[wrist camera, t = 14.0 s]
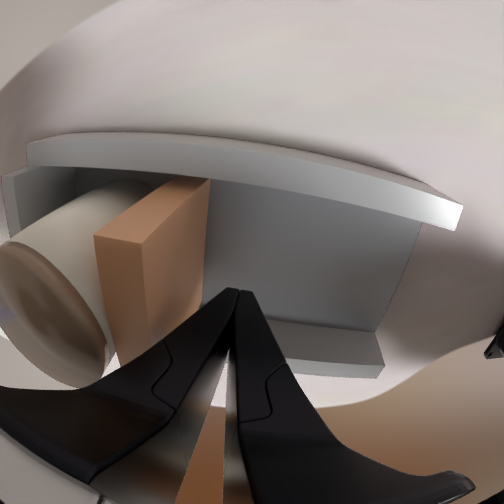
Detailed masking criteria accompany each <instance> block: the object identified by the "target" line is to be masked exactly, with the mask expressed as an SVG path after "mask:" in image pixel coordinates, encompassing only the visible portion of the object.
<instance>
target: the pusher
mask: <svg viewBox="0 0 504 504" xmlns="http://www.w3.org/2000/svg"><path fill="white" fill-rule="evenodd" d="M210 182H211V179H210V178H202V177H195V176H186V175H178V176H176V177H175V178H173V179H172V180H170V181H168V182H167V183H165V184H164V185H162V186H161V187H159V188H158V189H156V190H155V191H153V192H152V193H150V194H149V195H147V196H146V197H144V198H143V199H141V200H140V201H138V202H137V203H135V204H134V205H133V206H131V207H130V208H128V209H127V210H125V211H124V212H123V213H121V214H120V215H118V216H117V217H116V218H114V219H113V220H112V221H110V222H109V223H108V224H106V225H105V226H104V227H102V228H101V229H100V230H98V231H97V232H96V233H94V234H93V238H94V246H95V254H96V261H97V267H98V273H99V279H100V285H101V290H102V295H103V300H104V305H105V309H106V314H107V318H108V322H109V326H110V330H111V334H112V338H113V342H114V345H115V349H116V353H117V356H118V359H119V363H120V366H121V367H122V366H124V365H125V364H127V363H129V362H130V361H132V360H133V359H135V358H136V357H138V356H140V355H141V354H143V353H144V352H145V351H147V350H148V349H149V348H151V347H152V346H153V345H155V344H156V343H157V342H158V341H160V340H161V339H163V338H164V337H165V336H166V335H167V334H169V333H170V332H171V331H173V330H174V329H175V328H176V327H178V326H179V325H180V324H181V323H183V322H184V321H185V320H186V319H188V318H189V317H190V316H191V315H193V314H194V313H195V312H196V311H198V309H199V306H200V304H201V301H202V285H203V268H204V253H205V239H206V226H207V214H208V203H209V193H210Z"/></svg>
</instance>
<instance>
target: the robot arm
mask: <svg viewBox="0 0 504 504" xmlns="http://www.w3.org/2000/svg"><path fill="white" fill-rule="evenodd" d="M228 352H229V355H228ZM227 356H228V371H227V392H226V415H225V443H224V472H223V473H224V474H223V475H224V477H223V504H449V503H451V502H453V501H455V500H457V499H459V498H461V497H463V496H465V495H467V494H469V493H470V492H472V491H474V490H475V489H476V487H475V485H474V483H473V482H472V481H471V480H470V479H469V478H468V477H466V476H464V475H463V474H460V473H458V472H456V471H454V470H446V471H443V472H440V473H437V474H433V475H427V476H417V475H411V474H407V473H404V472H401V471H399V470H396V469H393V468H391V467H389V466H386V465H384V464H382V463H380V462H377V461H375V460H373V459H371V458H368V457H366V456H364V455H362V454H360V453H358V452H356V451H354V450H351V449H350V448H348V447H347V446H345V445H344V444H342V443H341V442H340V441H339V440H338V439H337V438H336V437H335V436H334V435H333V433H332V432H331V431H330V429H329V428H328V427H327V425H326V424H325V422H324V421H323V420H322V418H321V417H320V415H319V414H318V413H317V411H316V410H315V408H314V407H313V405H312V404H311V403H310V401H309V400H308V398H307V397H306V395H305V394H304V392H303V391H302V389H301V387H300V386H299V384H298V382H297V380H296V379H295V377H294V375H293V373H292V371H291V369H290V367H289V365H288V363H286V362H287V361H286V359H285V357H284V355H283V353H282V351H281V349H280V347H279V345H278V343H277V341H276V339H275V337H274V334H273V332H272V330H271V328H270V326H269V324H268V322H267V320H266V318H265V316H264V314H263V312H262V310H261V307H260V305H259V303H258V301H257V299H256V297H255V295H254V293H253V292H252V291H248V290H240V292H239V289H237V288H231V287H226V288H225V289H224V290H222V291H221V292H220V293H219V294H217V295H216V296H215V297H214V298H213V299H211V300H210V301H209V302H208V303H206V304H205V305H204V306H203V307H201V308H200V309H199V310H198V311H196V312H195V313H194V314H193V315H191V316H190V317H189V318H188V319H186V320H185V321H184V322H183V323H181V324H180V325H179V326H178V327H176V328H175V329H174V330H173V331H171V332H170V333H169V334H167V335H166V336H165V337H164V338H163V339H161V340H160V341H158V342H157V343H156V344H155V345H153V346H152V347H151V348H149V349H148V350H147V351H145V352H144V353H143V354H141V355H140V356H138V357H136V358H135V359H133V360H132V361H130V362H129V363H127V364H125V365H124V366H122V367H120V368H119V369H117V370H115V371H113V372H112V373H110V374H108V375H107V376H105V377H103V378H101V379H100V380H98V381H96V382H94V383H93V384H91V385H89V386H86V387H83V388H80V389H76V390H34V389H33V390H32V389H18V388H8V387H4V386H0V504H174V503H175V500H176V498H177V495H178V492H179V490H180V487H181V484H182V482H183V479H184V476H185V474H186V471H187V468H188V465H189V462H190V460H191V457H192V454H193V452H194V449H195V446H196V443H197V441H198V438H199V435H200V432H201V429H202V427H203V424H204V421H205V418H206V416H207V413H208V410H209V407H210V404H211V402H212V399H213V396H214V393H215V390H216V387H217V385H218V382H219V379H220V376H221V373H222V370H223V368H224V365H225V362H226V359H227ZM484 356H485V358H486V359H491V358H501V357H504V324H503V325H502V327H501V328H500V330H499V332H498V333H497V335H496V336H495V338H494V339H493V340H492V342H491V343H490V345H489V346H488V348H487V349H486V350H485V352H484ZM477 504H504V489H503V490H501V491H500V492H498V493H496V494H494V495H493V496H491V497H489V498H487V499H485V500H483V501H481V502H480V503H477Z"/></svg>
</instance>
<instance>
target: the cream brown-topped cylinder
mask: <svg viewBox="0 0 504 504" xmlns="http://www.w3.org/2000/svg"><path fill="white" fill-rule="evenodd" d="M153 191H155V189H154V188H152V187H151V186H149V185H148V184H146V183H144V182H142V181H139V180H136V179H130V178H120V179H115V180H112V181H109V182H107V183H105V184H103V185H101V186H99V187H97V188H95V189H93V190H91V191H89V192H87V193H85V194H83V195H82V196H80V197H78V198H76V199H74V200H72V201H70V202H69V203H67V204H65V205H63V206H61V207H60V208H58V209H56V210H55V211H53V212H51V213H49V214H48V215H46V216H44V217H43V218H41V219H39V220H38V221H36V222H35V223H33V224H31V225H30V226H28V227H27V228H25V229H24V230H22V231H21V232H19V233H18V234H16V235H15V236H13V237H12V238H10V239H9V240H7V241H6V242H4V243H3V244H2V245H0V327H1V328H2V330H3V331H4V333H5V334H6V335H7V337H8V338H9V339H10V341H11V342H12V343H13V344H14V345H15V347H16V348H17V349H18V350H19V351H20V352H21V353H22V354H23V355H24V356H25V357H26V358H27V359H28V360H29V361H30V362H31V363H33V364H34V365H35V366H36V367H37V368H39V369H40V370H41V371H43V372H44V373H46V374H47V375H49V376H50V377H52V378H54V379H55V380H57V381H59V382H61V383H64V384H66V385H69V386H72V387H76V388H83V387H86V386H89V385H91V384H93V383H94V382H96V381H98V380H100V379H101V377H102V375H103V373H104V372H105V370H106V368H107V366H108V364H109V363H110V361H111V359H112V357H113V356H114V354H115V352H116V349H115V345H114V342H113V338H112V334H111V330H110V326H109V322H108V318H107V314H106V309H105V305H104V300H103V295H102V290H101V285H100V279H99V273H98V267H97V261H96V254H95V246H94V238H93V234H94V233H96V232H97V231H98V230H100V229H101V228H102V227H104V226H105V225H106V224H108V223H109V222H110V221H112V220H113V219H114V218H116V217H117V216H118V215H120V214H121V213H123V212H124V211H125V210H127V209H128V208H130V207H131V206H133V205H134V204H135V203H137V202H138V201H140V200H141V199H143V198H144V197H146V196H147V195H149V194H150V193H152V192H153Z"/></svg>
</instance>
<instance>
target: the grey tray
mask: <svg viewBox="0 0 504 504" xmlns="http://www.w3.org/2000/svg"><path fill="white" fill-rule="evenodd" d="M26 151H27V166H26V167H24V168H21V169H18V170H16V171H13V172H11V173H9V174H6V175H4V176H1V183H2V192H3V200H4V206H5V213H6V218H7V224H8V229H9V234H10V238H12V237H13V236H15V235H16V234H18V233H19V232H21V231H22V230H24V229H25V228H27V227H28V226H30V225H31V224H33V223H35V222H36V221H38V220H39V219H41V218H43V217H44V216H46V215H48V214H49V213H51V212H53V211H55V210H56V209H58V208H60V207H61V206H63V205H65V204H67V203H69V202H70V201H72V200H74V199H76V198H78V197H80V196H82V195H83V194H85V193H87V192H89V191H91V190H93V189H95V188H97V187H99V186H101V185H103V184H105V183H107V182H109V181H112V180H115V179H120V178H130V179H136V180H139V181H142V182H144V183H146V184H148V185H149V186H151V187H152V188H154V189H155V190H156V189H158V188H159V187H161V186H162V185H164V184H165V183H167V182H168V181H170V180H172V179H173V178H175V177H176V176H178V175H186V176H195V177H202V178H210V179H211V182H210V193H209V203H208V214H207V226H206V239H205V253H204V268H203V285H202V301H201V304H200V306H199V309H200V308H201V307H203V306H204V305H205V304H206V303H208V302H209V301H210V300H211V299H213V298H214V297H215V296H216V295H217V294H219V293H220V292H221V291H222V290H224V289H225V288H226V287H231V288H237V289H239V292H240V290H248V291H252V292H253V293H254V295H255V297H256V299H257V301H258V303H259V305H260V307H261V310H262V312H263V314H264V316H265V318H266V320H267V322H268V324H269V326H270V328H271V330H272V332H273V334H274V337H275V339H276V341H277V343H278V345H279V347H280V349H281V351H282V353H283V355H284V357H285V359H286V361H287V362H286V363H288V365H289V367H290V369H291V371H292V373H298V374H308V375H319V376H332V377H349V378H377V377H378V375H379V374H380V373H381V371H382V370H383V368H384V367H385V364H384V360H383V357H382V354H381V351H380V348H379V345H378V342H377V339H376V336H375V333H374V332H375V330H376V329H377V327H378V325H379V323H380V321H381V319H382V317H383V315H384V313H385V311H386V309H387V307H388V305H389V303H390V301H391V299H392V296H393V294H394V292H395V290H396V288H397V286H398V283H399V281H400V279H401V276H402V274H403V272H404V269H405V267H406V265H407V262H408V260H409V257H410V255H411V252H412V250H413V247H414V244H415V242H416V239H417V236H418V234H419V231H420V228H421V225H422V222H425V223H428V224H432V225H435V226H438V227H442V228H445V229H448V230H452V231H455V229H456V226H457V223H458V220H459V217H460V214H461V211H462V208H463V206H462V205H461V204H459V203H458V202H456V201H455V200H453V199H451V198H450V197H448V196H446V195H445V194H443V193H441V192H440V191H438V190H436V189H435V188H433V187H431V186H429V185H428V184H425V183H422V182H419V181H416V180H413V179H410V178H407V177H404V176H401V175H398V174H395V173H391V172H388V171H385V170H381V169H378V168H374V167H371V166H367V165H363V164H359V163H356V162H352V161H348V160H344V159H340V158H335V157H331V156H327V155H322V154H318V153H313V152H308V151H303V150H298V149H293V148H287V147H282V146H276V145H270V144H264V143H258V142H251V141H244V140H236V139H228V138H220V137H210V136H200V135H188V134H174V133H155V132H81V133H67V134H62V135H58V136H53V137H49V138H45V139H41V140H37V141H33V142H30V143H26ZM199 309H198V310H199ZM228 355H229V352H228ZM225 363H228V356H227V359H226V362H225Z"/></svg>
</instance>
